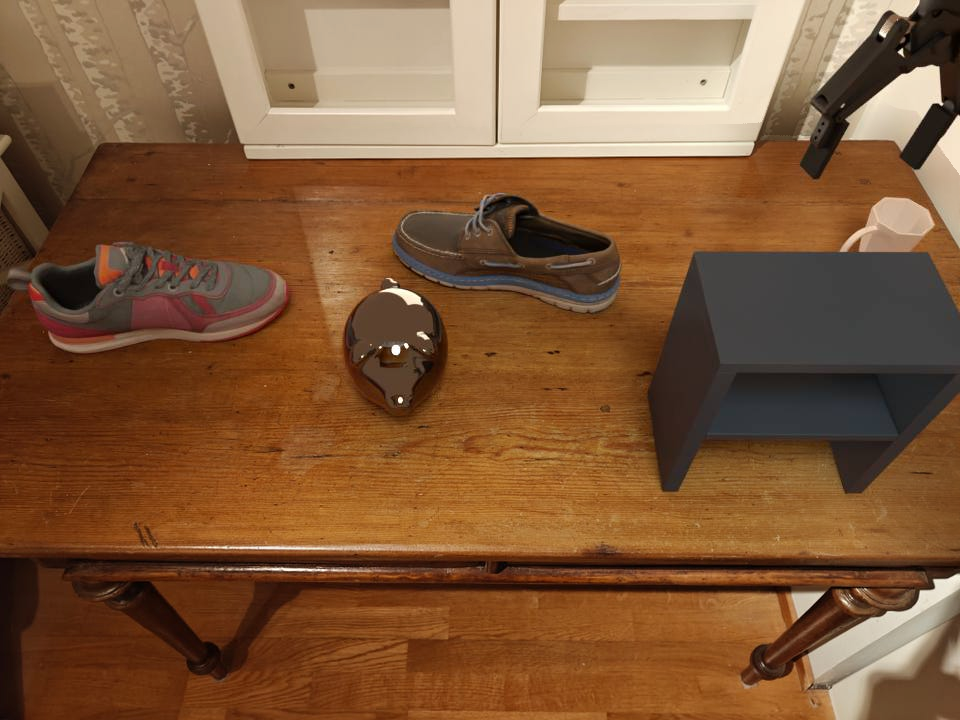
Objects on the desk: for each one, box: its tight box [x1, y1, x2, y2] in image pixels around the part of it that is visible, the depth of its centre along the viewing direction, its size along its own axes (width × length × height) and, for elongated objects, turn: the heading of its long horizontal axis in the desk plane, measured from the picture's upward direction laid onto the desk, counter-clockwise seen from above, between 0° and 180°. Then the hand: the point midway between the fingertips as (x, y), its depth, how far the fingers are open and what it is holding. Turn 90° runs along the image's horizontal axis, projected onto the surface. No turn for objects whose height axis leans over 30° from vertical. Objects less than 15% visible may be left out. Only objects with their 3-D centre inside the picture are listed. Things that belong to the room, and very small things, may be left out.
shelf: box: [646, 250, 960, 494], centre depth 65 cm, size 20×12×22 cm, turn 89°
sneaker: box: [6, 240, 290, 355], centre depth 80 cm, size 10×28×12 cm, turn 102°
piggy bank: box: [341, 277, 449, 417], centre depth 74 cm, size 11×15×12 cm
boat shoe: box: [391, 192, 623, 314], centre depth 85 cm, size 10×29×11 cm, turn 74°
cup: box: [838, 196, 936, 252], centre depth 86 cm, size 7×10×8 cm
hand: (859, 167), depth 77 cm, fingers open, 13 cm apart
